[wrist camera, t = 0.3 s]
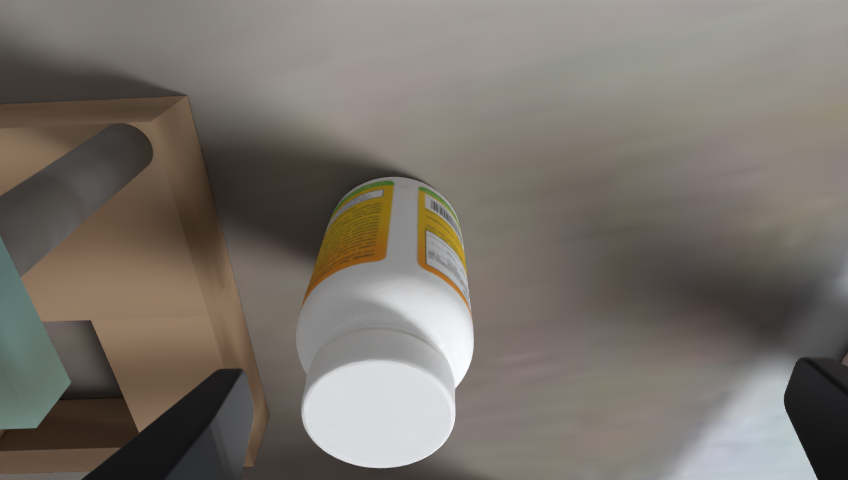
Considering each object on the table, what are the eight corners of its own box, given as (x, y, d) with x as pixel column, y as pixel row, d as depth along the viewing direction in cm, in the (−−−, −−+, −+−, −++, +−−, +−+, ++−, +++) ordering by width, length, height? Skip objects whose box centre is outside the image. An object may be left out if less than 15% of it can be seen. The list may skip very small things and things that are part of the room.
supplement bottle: (321, 276, 24) (263, 472, 15) (338, 160, 21) (280, 318, 13) (444, 298, 24) (455, 499, 16) (476, 187, 22) (509, 357, 13)
